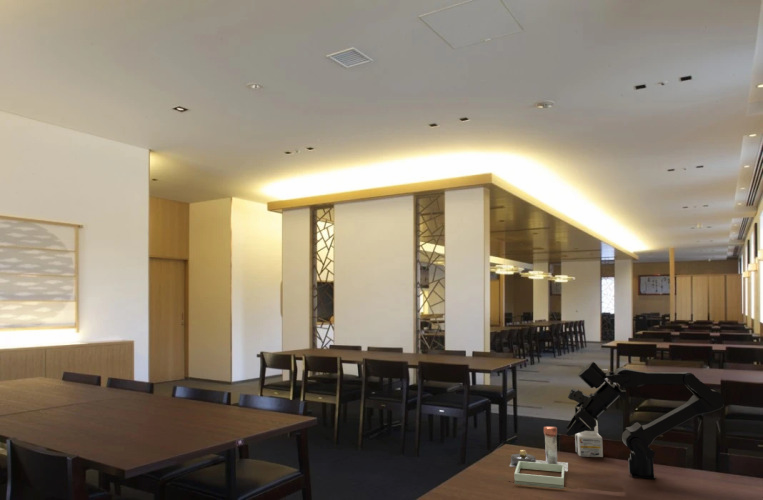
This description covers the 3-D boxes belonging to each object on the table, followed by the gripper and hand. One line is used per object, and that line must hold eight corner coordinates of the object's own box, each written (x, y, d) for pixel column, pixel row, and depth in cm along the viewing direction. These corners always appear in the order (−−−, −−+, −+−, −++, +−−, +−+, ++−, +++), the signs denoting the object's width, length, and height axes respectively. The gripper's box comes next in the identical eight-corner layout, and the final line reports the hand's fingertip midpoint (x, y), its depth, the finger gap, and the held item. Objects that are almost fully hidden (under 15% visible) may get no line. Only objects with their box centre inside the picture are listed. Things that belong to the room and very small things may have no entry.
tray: (564, 474, 170) (564, 464, 170) (563, 488, 156) (563, 478, 157) (518, 470, 174) (518, 461, 175) (514, 484, 161) (514, 473, 161)
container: (579, 459, 187) (578, 420, 188) (575, 453, 194) (574, 416, 196) (603, 460, 186) (601, 421, 187) (598, 454, 193) (596, 416, 194)
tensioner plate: (568, 465, 179) (567, 450, 180) (567, 474, 170) (567, 458, 170) (512, 461, 185) (512, 446, 186) (509, 469, 176) (509, 453, 176)
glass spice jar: (558, 464, 177) (557, 426, 179) (558, 467, 174) (556, 429, 175) (545, 463, 179) (543, 426, 180) (544, 466, 175) (543, 428, 176)
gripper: (582, 376, 184) (549, 407, 187) (583, 383, 167) (547, 418, 169) (608, 401, 181) (574, 432, 183) (612, 411, 163) (574, 446, 166)
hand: (567, 431), depth 176 cm, fingers open, 9 cm apart
